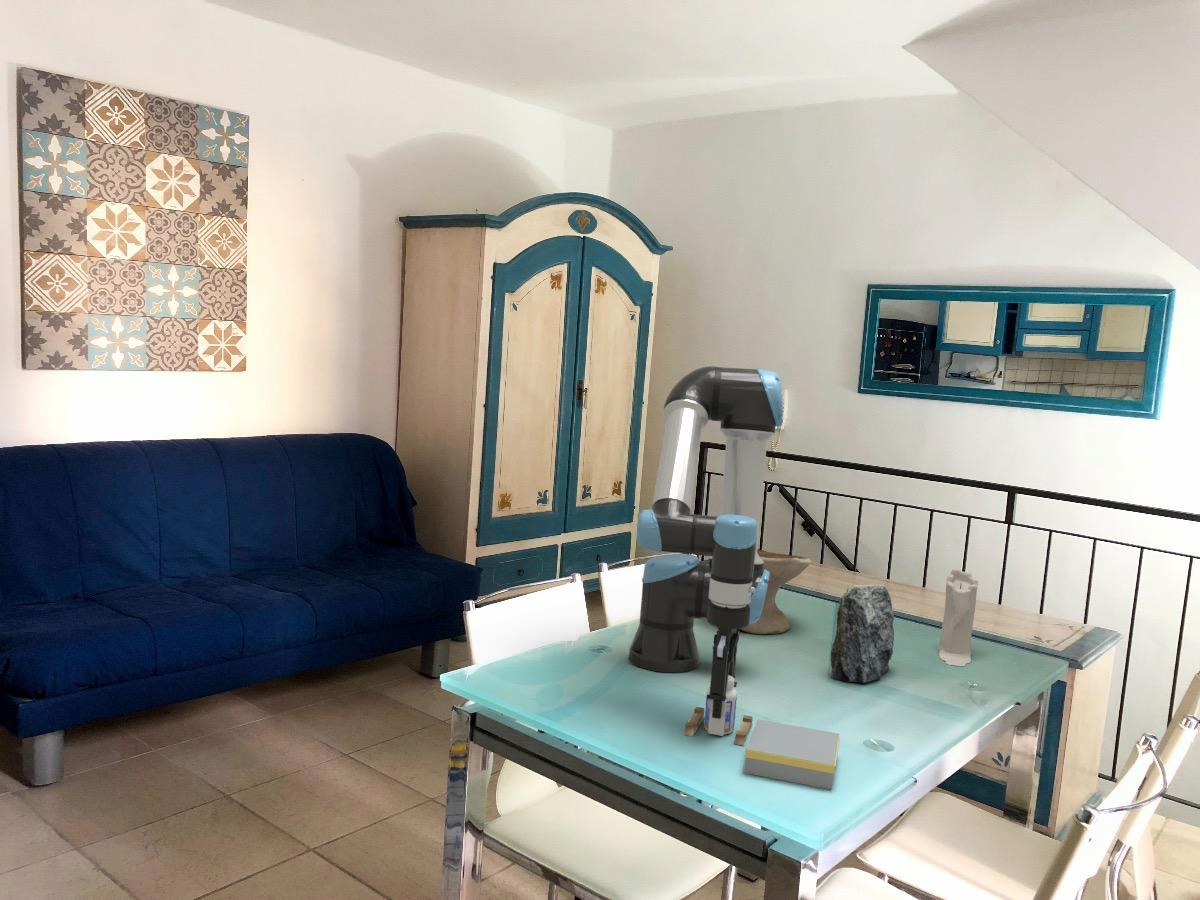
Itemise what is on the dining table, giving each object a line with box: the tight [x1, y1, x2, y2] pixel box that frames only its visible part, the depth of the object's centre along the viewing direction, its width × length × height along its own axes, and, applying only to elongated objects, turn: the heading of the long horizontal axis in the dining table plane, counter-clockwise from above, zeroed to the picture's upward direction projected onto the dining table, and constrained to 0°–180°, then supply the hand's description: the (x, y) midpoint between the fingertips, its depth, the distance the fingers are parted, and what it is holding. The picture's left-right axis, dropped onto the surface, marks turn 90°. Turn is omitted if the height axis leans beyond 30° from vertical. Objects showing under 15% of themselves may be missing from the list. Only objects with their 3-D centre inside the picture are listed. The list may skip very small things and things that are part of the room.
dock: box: [743, 718, 841, 790], centre depth 164 cm, size 14×14×4 cm
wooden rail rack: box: [683, 706, 753, 746], centre depth 177 cm, size 11×10×2 cm
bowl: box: [739, 549, 812, 635], centre depth 246 cm, size 26×25×20 cm
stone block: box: [830, 583, 895, 684], centre depth 213 cm, size 18×9×20 cm, turn 134°
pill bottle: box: [703, 675, 738, 735], centre depth 176 cm, size 5×5×10 cm
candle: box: [938, 568, 979, 667], centre depth 230 cm, size 7×14×20 cm, turn 161°
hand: (718, 727), depth 177 cm, fingers closed on pill bottle, 5 cm apart
